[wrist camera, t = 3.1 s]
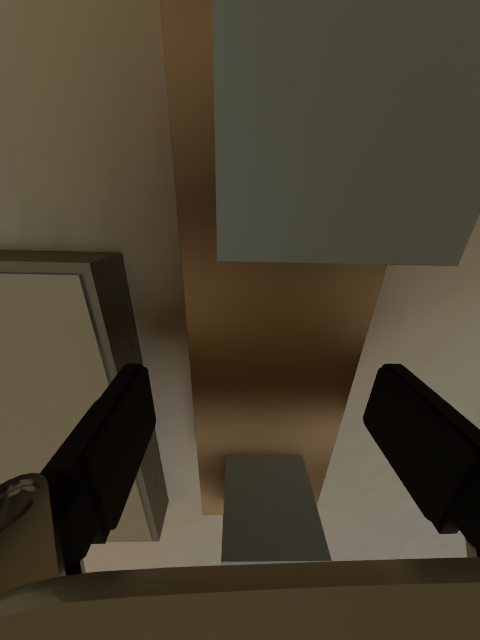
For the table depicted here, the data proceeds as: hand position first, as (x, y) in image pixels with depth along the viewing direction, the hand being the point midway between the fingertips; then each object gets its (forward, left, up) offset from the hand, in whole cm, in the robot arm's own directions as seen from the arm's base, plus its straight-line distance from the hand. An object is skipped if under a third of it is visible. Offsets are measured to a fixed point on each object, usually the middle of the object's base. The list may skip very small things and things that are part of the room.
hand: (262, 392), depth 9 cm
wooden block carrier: (0, -1, -6) cm, 6 cm away
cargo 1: (0, +7, -1) cm, 7 cm away
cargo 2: (-1, -8, -1) cm, 8 cm away
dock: (+15, +7, -6) cm, 17 cm away
